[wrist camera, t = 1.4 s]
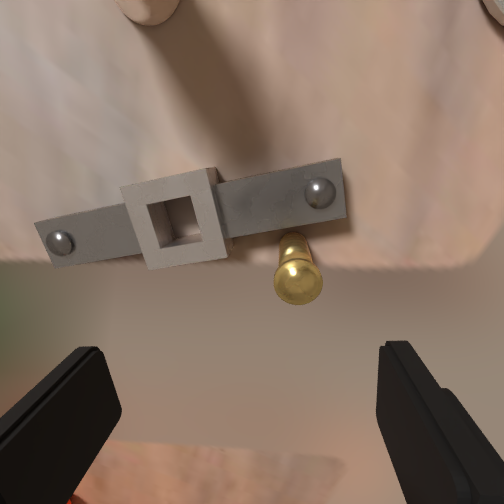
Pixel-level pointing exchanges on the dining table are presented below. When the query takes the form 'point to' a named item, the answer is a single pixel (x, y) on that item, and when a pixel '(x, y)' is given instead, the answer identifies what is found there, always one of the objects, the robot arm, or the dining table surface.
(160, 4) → the metal tumbler
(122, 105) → the dining table surface
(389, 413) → the robot arm
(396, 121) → the dining table surface
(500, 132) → the dining table surface
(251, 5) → the dining table surface
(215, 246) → the studded connector plate
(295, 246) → the link pin
